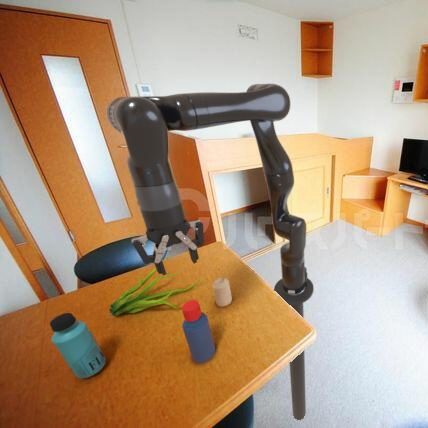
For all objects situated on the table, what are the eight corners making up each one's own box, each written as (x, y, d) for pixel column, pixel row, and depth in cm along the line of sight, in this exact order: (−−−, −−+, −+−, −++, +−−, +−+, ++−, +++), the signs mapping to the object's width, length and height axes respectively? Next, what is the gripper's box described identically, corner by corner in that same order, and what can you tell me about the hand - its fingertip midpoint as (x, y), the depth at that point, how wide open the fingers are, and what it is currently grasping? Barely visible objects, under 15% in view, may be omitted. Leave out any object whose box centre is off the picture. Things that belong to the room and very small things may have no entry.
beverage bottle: (97, 382, 63) (63, 329, 54) (70, 384, 62) (32, 330, 54) (114, 358, 69) (86, 307, 60) (90, 359, 68) (58, 308, 60)
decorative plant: (199, 316, 82) (190, 283, 76) (109, 320, 80) (92, 287, 74) (216, 281, 99) (210, 251, 92) (141, 284, 96) (129, 253, 90)
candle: (216, 308, 85) (211, 287, 81) (216, 298, 90) (211, 277, 86) (232, 304, 88) (228, 282, 83) (231, 294, 92) (227, 273, 88)
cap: (198, 307, 66) (195, 297, 65) (203, 316, 64) (200, 305, 62) (182, 315, 64) (179, 305, 62) (187, 324, 61) (184, 314, 60)
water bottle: (210, 339, 74) (198, 294, 66) (218, 353, 70) (207, 307, 62) (189, 352, 70) (174, 306, 63) (196, 367, 66) (181, 320, 59)
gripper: (120, 218, 43) (147, 290, 50) (202, 198, 52) (216, 261, 59) (115, 206, 48) (140, 273, 55) (191, 190, 57) (204, 249, 64)
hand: (179, 267), depth 57 cm, fingers open, 6 cm apart
